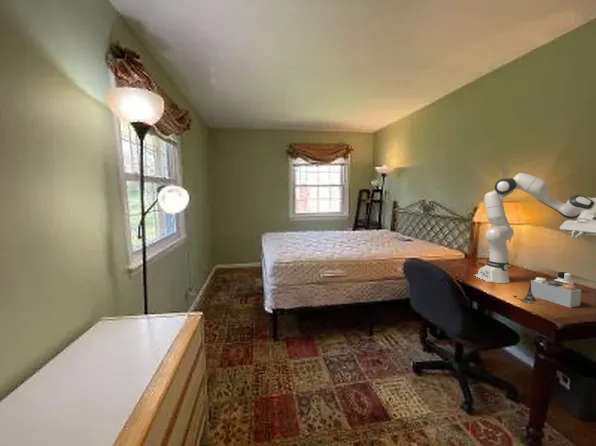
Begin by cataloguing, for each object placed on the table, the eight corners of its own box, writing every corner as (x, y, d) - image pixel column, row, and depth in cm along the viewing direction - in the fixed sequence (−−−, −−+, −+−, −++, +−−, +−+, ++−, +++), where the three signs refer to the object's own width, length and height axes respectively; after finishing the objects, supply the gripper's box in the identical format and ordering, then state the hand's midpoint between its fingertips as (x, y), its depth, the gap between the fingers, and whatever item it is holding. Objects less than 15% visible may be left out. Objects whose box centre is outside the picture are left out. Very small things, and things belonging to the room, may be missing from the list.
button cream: (533, 290, 186) (533, 277, 186) (538, 289, 188) (539, 276, 187) (541, 292, 182) (542, 279, 181) (547, 291, 183) (547, 279, 182)
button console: (529, 294, 187) (529, 280, 186) (538, 293, 190) (539, 279, 189) (570, 307, 166) (571, 291, 165) (580, 305, 169) (581, 289, 168)
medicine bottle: (553, 290, 195) (554, 272, 193) (559, 288, 197) (561, 270, 196) (566, 293, 188) (567, 274, 187) (573, 292, 191) (574, 273, 189)
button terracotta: (560, 298, 172) (561, 284, 171) (566, 297, 174) (567, 283, 173) (570, 300, 168) (571, 287, 167) (576, 299, 169) (577, 286, 168)
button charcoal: (546, 293, 179) (547, 281, 178) (552, 292, 181) (552, 280, 180) (555, 296, 175) (556, 283, 174) (561, 295, 176) (562, 282, 175)
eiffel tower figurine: (511, 296, 187) (512, 275, 185) (528, 296, 186) (530, 275, 185) (527, 305, 172) (529, 282, 170) (546, 305, 171) (548, 282, 170)
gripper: (564, 216, 191) (552, 232, 189) (605, 218, 172) (592, 236, 170) (569, 222, 193) (557, 239, 191) (610, 226, 174) (597, 244, 172)
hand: (574, 238), depth 180 cm, fingers closed
